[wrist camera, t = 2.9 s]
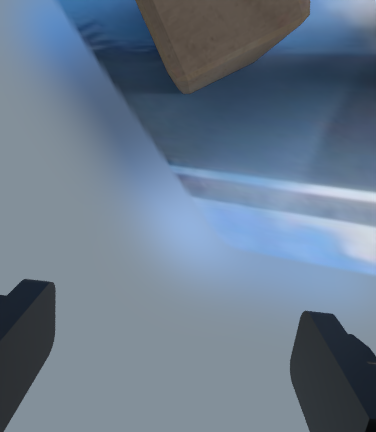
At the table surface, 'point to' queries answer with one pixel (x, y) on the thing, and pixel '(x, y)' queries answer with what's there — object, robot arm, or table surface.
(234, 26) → the block
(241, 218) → the table surface
